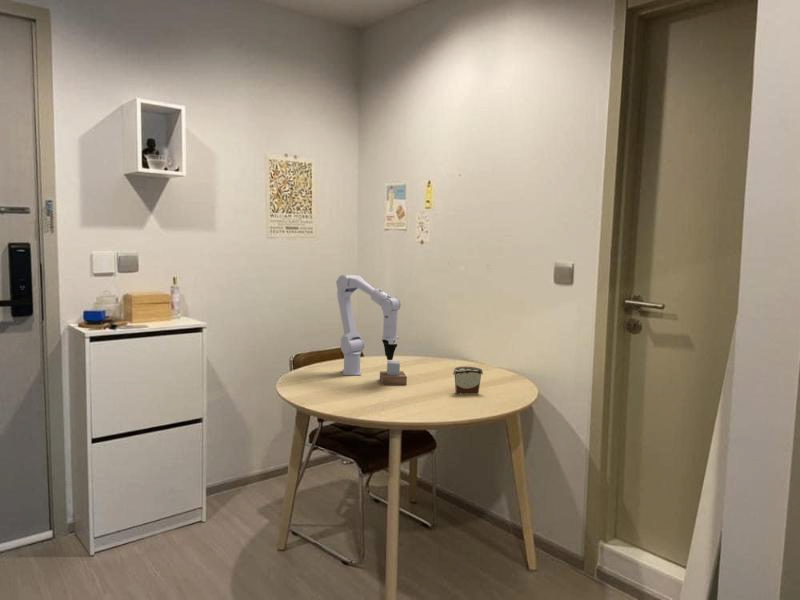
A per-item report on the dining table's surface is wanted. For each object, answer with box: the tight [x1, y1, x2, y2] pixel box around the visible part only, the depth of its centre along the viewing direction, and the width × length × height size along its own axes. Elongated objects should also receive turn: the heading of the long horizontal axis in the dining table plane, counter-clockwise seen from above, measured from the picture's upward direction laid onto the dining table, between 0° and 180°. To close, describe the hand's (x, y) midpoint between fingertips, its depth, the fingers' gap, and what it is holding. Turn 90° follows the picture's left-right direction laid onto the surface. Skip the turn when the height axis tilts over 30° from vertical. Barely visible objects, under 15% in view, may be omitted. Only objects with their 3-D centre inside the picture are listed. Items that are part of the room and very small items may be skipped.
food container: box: [452, 366, 484, 395], centre depth 241 cm, size 12×6×10 cm, turn 104°
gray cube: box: [386, 360, 401, 375], centre depth 253 cm, size 5×5×5 cm
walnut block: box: [379, 370, 408, 386], centre depth 254 cm, size 10×10×4 cm
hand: (388, 358), depth 253 cm, fingers open, 7 cm apart
